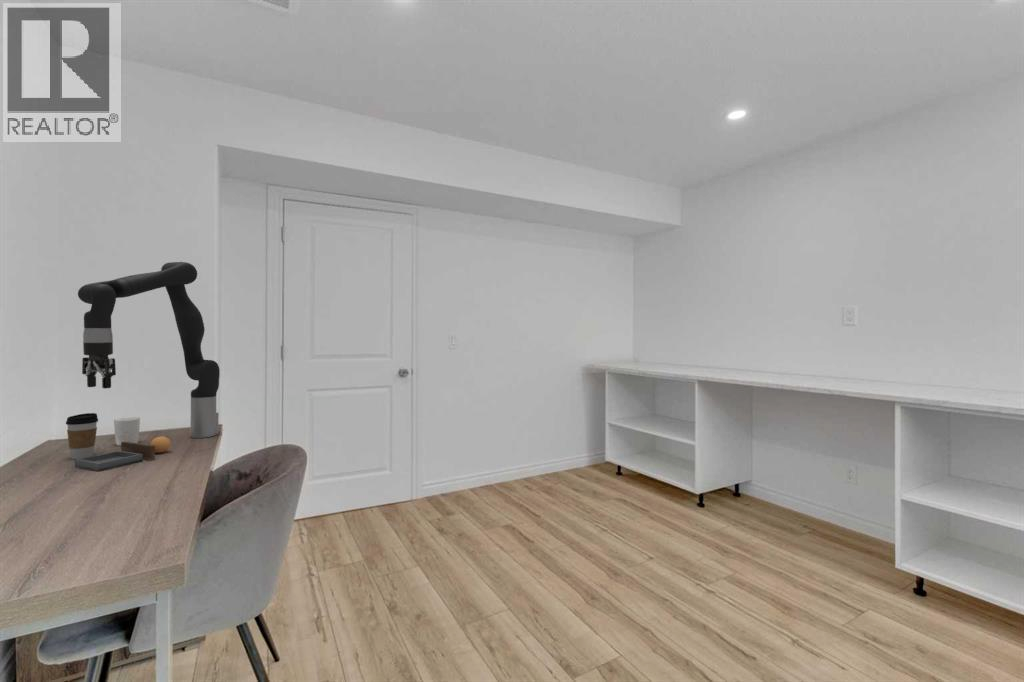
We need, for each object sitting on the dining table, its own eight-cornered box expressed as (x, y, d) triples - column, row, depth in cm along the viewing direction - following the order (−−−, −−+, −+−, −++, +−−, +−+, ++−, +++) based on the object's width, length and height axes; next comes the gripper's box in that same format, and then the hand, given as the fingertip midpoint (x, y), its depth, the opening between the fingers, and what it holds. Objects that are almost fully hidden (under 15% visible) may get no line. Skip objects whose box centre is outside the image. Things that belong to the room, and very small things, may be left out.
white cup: (118, 442, 180) (118, 417, 180) (142, 440, 184) (142, 416, 184) (110, 446, 173) (110, 421, 173) (136, 445, 177) (136, 420, 176)
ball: (163, 449, 170) (163, 434, 170) (174, 451, 168) (174, 435, 168) (146, 453, 164) (146, 437, 164) (156, 455, 162) (157, 439, 162)
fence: (125, 454, 162) (125, 441, 162) (154, 459, 157) (154, 445, 157) (121, 455, 161) (121, 442, 161) (150, 460, 156) (150, 446, 156)
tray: (119, 457, 159) (119, 450, 159) (142, 461, 155) (142, 454, 155) (74, 467, 147) (74, 459, 147) (98, 471, 143) (98, 463, 143)
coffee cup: (104, 454, 163) (104, 413, 163) (80, 460, 154) (80, 417, 154) (84, 453, 164) (84, 412, 164) (58, 459, 155) (58, 416, 155)
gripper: (123, 341, 156) (124, 387, 156) (98, 340, 161) (99, 385, 161) (97, 342, 149) (98, 390, 149) (72, 341, 154) (73, 387, 154)
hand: (99, 387), depth 155 cm, fingers open, 8 cm apart
